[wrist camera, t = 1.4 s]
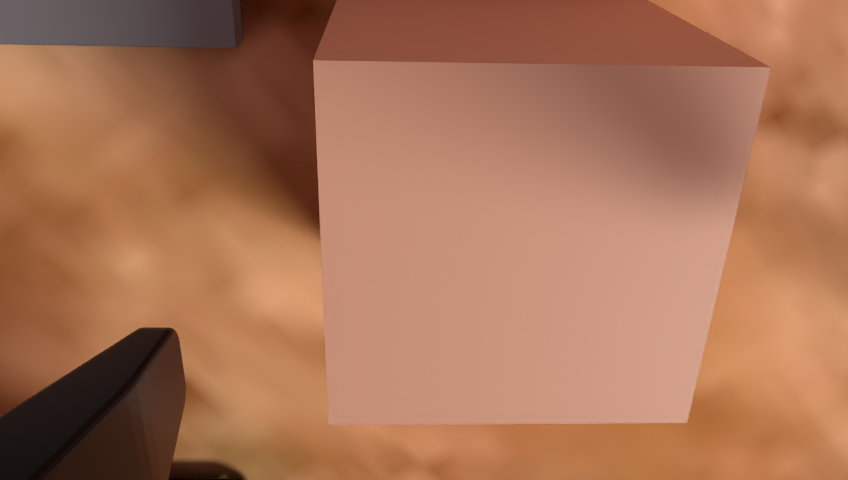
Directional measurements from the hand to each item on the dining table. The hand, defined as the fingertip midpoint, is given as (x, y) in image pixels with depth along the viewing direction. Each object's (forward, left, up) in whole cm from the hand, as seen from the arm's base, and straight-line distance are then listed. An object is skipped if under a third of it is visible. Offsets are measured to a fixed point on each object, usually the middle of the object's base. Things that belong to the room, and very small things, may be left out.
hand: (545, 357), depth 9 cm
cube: (0, 0, -8) cm, 8 cm away
